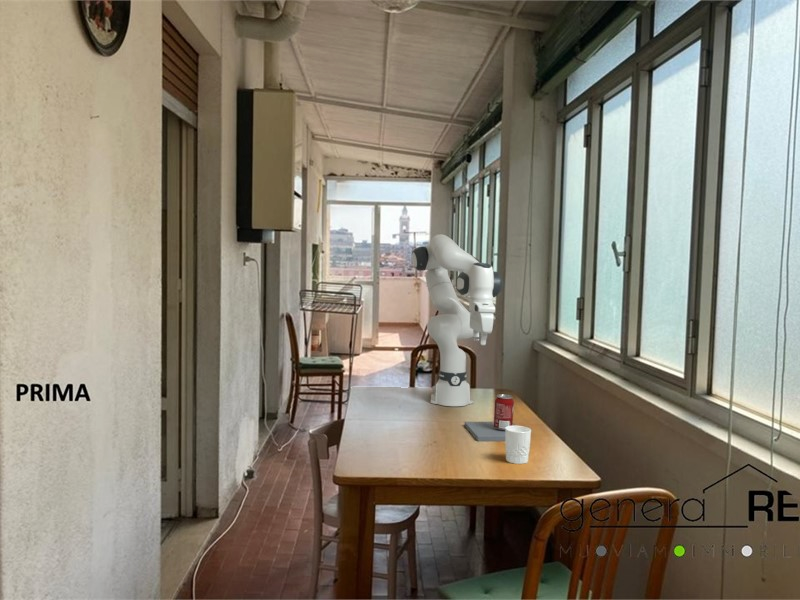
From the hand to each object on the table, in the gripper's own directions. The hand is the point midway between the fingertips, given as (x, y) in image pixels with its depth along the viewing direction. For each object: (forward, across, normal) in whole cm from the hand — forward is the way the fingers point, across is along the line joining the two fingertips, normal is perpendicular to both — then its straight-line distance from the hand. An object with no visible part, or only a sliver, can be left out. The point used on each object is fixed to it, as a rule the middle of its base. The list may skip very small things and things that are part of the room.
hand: (479, 343), depth 228 cm
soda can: (+30, +12, +6) cm, 33 cm away
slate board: (+31, +11, +4) cm, 33 cm away
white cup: (+31, +42, +2) cm, 52 cm away
